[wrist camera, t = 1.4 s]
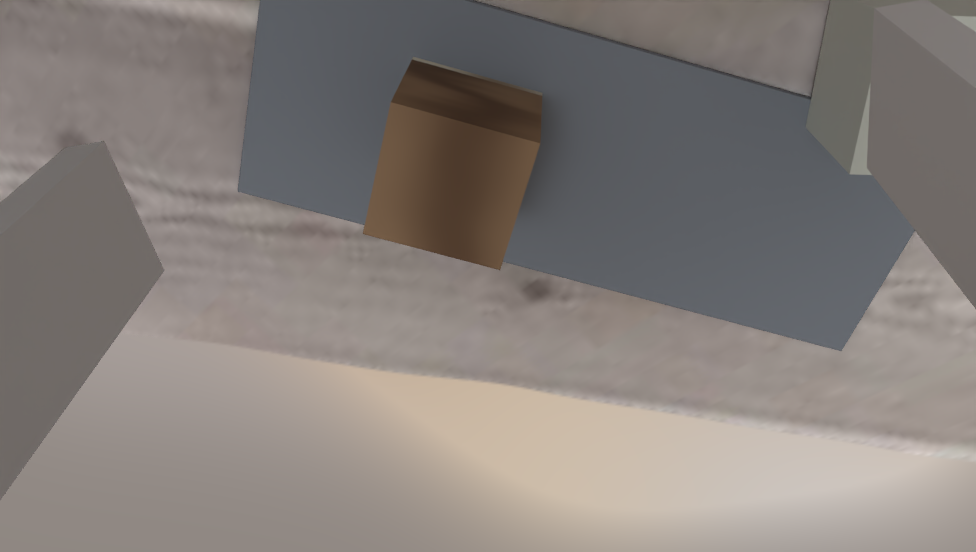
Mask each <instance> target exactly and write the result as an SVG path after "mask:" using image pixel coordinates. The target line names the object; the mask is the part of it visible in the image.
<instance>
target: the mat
mask: <svg viewBox="0 0 976 552" xmlns="http://www.w3.org/2000/svg"><path fill="white" fill-rule="evenodd" d="M413 57H416V58H420V59H424V60H427V61H431V62H434V63H438V64H441V65H445V66H448V67H452V68H456V69H459V70H463V71H466V72H470V73H473V74H477V75H480V76H484V77H488V78H491V79H495V80H498V81H502V82H505V83H509V84H512V85H516V86H520V87H523V88H527V89H530V90H534V91H537V92H541V93H542V116H541V141H540V146H539V149H538V153H537V156H536V159H535V162H534V165H533V168H532V171H531V174H530V178H529V181H528V184H527V187H526V190H525V193H524V196H523V199H522V203H521V206H520V209H519V212H518V215H517V218H516V221H515V225H514V228H513V231H512V234H511V237H510V240H509V243H508V246H507V250H506V253H505V256H504V259H503V262H506V263H510V264H514V265H518V266H521V267H525V268H529V269H533V270H537V271H540V272H544V273H548V274H552V275H555V276H559V277H563V278H567V279H571V280H574V281H578V282H582V283H586V284H589V285H593V286H597V287H601V288H605V289H608V290H612V291H616V292H620V293H623V294H627V295H631V296H635V297H639V298H642V299H646V300H650V301H654V302H658V303H661V304H665V305H669V306H673V307H676V308H680V309H684V310H688V311H692V312H695V313H699V314H703V315H707V316H710V317H714V318H718V319H722V320H726V321H729V322H733V323H737V324H741V325H744V326H748V327H752V328H756V329H760V330H763V331H767V332H771V333H775V334H778V335H782V336H786V337H790V338H794V339H797V340H801V341H805V342H809V343H813V344H816V345H820V346H824V347H828V348H831V349H835V350H839V351H842V349H843V347H844V346H845V344H846V342H847V341H848V339H849V338H850V336H851V334H852V333H853V331H854V329H855V328H856V326H857V324H858V323H859V321H860V320H861V318H862V316H863V315H864V313H865V311H866V310H867V308H868V306H869V305H870V303H871V301H872V300H873V298H874V297H875V295H876V293H877V292H878V290H879V288H880V287H881V285H882V283H883V282H884V280H885V279H886V277H887V275H888V274H889V272H890V270H891V269H892V267H893V265H894V264H895V262H896V260H897V259H898V257H899V256H900V254H901V252H902V251H903V249H904V247H905V246H906V244H907V242H908V241H909V239H910V238H911V236H912V234H913V233H914V231H915V230H914V228H913V227H912V226H911V224H910V223H909V222H908V221H907V219H906V218H905V217H904V215H903V214H902V213H901V212H900V210H899V209H898V208H897V206H896V205H895V204H894V202H893V201H892V200H891V199H890V197H889V196H888V195H887V193H886V192H885V191H884V190H883V188H882V187H881V186H880V184H879V183H878V182H877V180H876V179H875V178H874V177H873V175H855V174H849V173H848V172H847V171H846V170H845V169H844V168H843V167H842V166H841V165H840V164H839V163H838V161H837V160H836V159H835V158H834V157H833V156H832V155H831V154H830V153H829V152H828V151H827V150H826V149H825V148H824V147H823V146H822V144H821V143H820V142H819V141H818V140H817V139H816V138H815V137H814V136H813V135H812V134H811V133H810V132H809V131H808V130H807V128H806V123H807V117H808V112H809V107H810V102H811V97H807V96H804V95H800V94H797V93H793V92H790V91H786V90H783V89H779V88H776V87H772V86H769V85H765V84H762V83H759V82H755V81H752V80H748V79H745V78H741V77H738V76H734V75H731V74H727V73H724V72H720V71H717V70H713V69H710V68H706V67H703V66H700V65H696V64H693V63H689V62H686V61H682V60H679V59H675V58H672V57H668V56H665V55H661V54H658V53H654V52H651V51H647V50H644V49H640V48H637V47H634V46H630V45H627V44H623V43H620V42H616V41H613V40H609V39H606V38H602V37H599V36H595V35H592V34H588V33H585V32H581V31H578V30H575V29H571V28H568V27H564V26H561V25H557V24H554V23H550V22H547V21H543V20H540V19H536V18H533V17H529V16H526V15H522V14H519V13H516V12H512V11H509V10H505V9H502V8H498V7H495V6H491V5H488V4H484V3H481V2H477V1H474V0H260V5H259V14H258V22H257V31H256V40H255V48H254V57H253V65H252V74H251V82H250V91H249V99H248V108H247V116H246V125H245V133H244V142H243V150H242V159H241V167H240V176H239V184H238V192H242V193H245V194H249V195H253V196H257V197H261V198H264V199H268V200H272V201H276V202H279V203H283V204H287V205H291V206H295V207H298V208H302V209H306V210H310V211H314V212H317V213H321V214H325V215H329V216H332V217H336V218H340V219H344V220H348V221H351V222H355V223H359V224H363V225H365V221H366V216H367V212H368V207H369V202H370V198H371V193H372V188H373V183H374V179H375V174H376V169H377V164H378V160H379V155H380V150H381V146H382V141H383V136H384V131H385V127H386V122H387V117H388V112H389V108H390V103H391V100H392V98H393V96H394V94H395V92H396V90H397V88H398V86H399V84H400V82H401V80H402V78H403V76H404V74H405V72H406V70H407V68H408V66H409V64H410V62H411V60H412V58H413Z"/></svg>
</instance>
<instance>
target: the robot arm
mask: <svg viewBox="0 0 976 552" xmlns="http://www.w3.org/2000/svg"><path fill="white" fill-rule="evenodd" d="M867 169H868V170H869V171H870V173H871V174H872V175H873V177H874V178H875V179H876V180H877V182H878V183H879V184H880V186H881V187H882V188H883V190H884V191H885V192H886V193H887V195H888V196H889V197H890V199H891V200H892V201H893V202H894V204H895V205H896V206H897V208H898V209H899V210H900V212H901V213H902V214H903V215H904V217H905V218H906V219H907V221H908V222H909V223H910V224H911V226H912V227H913V228H914V230H915V231H916V232H917V234H918V235H919V236H920V237H921V239H922V240H923V241H924V243H925V244H926V245H927V246H928V248H929V249H930V250H931V252H932V253H933V254H934V256H935V257H936V258H937V259H938V261H939V262H940V263H941V265H942V266H943V267H944V268H945V270H946V271H947V272H948V274H949V275H950V276H951V278H952V279H953V280H954V281H955V283H956V284H957V285H958V287H959V288H960V289H961V291H962V292H963V293H964V294H965V296H966V297H967V298H968V300H969V301H970V302H971V303H972V305H973V306H974V307H975V309H976V32H975V31H974V30H972V29H970V28H969V27H967V26H966V25H964V24H963V23H961V22H960V21H958V20H957V19H955V18H954V17H952V16H951V15H949V14H948V13H946V12H945V11H943V10H942V9H940V8H939V7H937V6H936V5H934V4H933V3H931V2H930V1H928V0H918V1H913V2H907V3H901V4H895V5H889V6H884V7H878V8H874V21H873V42H872V64H871V85H870V107H869V128H868V150H867ZM163 272H164V269H163V267H162V264H161V262H160V260H159V258H158V256H157V254H156V252H155V249H154V247H153V245H152V243H151V241H150V239H149V237H148V234H147V232H146V230H145V228H144V226H143V224H142V222H141V219H140V217H139V215H138V213H137V211H136V209H135V206H134V204H133V202H132V200H131V198H130V196H129V194H128V191H127V189H126V187H125V185H124V183H123V181H122V179H121V176H120V174H119V172H118V170H117V168H116V166H115V164H114V161H113V159H112V157H111V155H110V153H109V151H108V148H107V146H106V144H105V142H104V141H101V142H95V143H90V144H84V145H78V146H72V147H67V148H64V149H63V150H62V151H61V152H60V153H58V154H57V155H56V156H55V157H54V158H52V159H51V160H50V161H49V162H48V163H47V164H45V165H44V166H43V167H42V168H41V169H39V170H38V171H37V172H36V173H35V174H34V175H32V176H31V177H30V178H29V179H28V180H27V181H25V182H24V183H23V184H22V185H21V186H19V187H18V188H17V189H16V190H15V191H14V192H12V193H11V194H10V195H9V196H8V197H7V198H5V199H4V200H3V201H2V202H1V203H0V500H1V498H2V497H3V496H4V494H5V493H6V491H7V490H8V489H9V487H10V486H11V484H12V483H13V482H14V480H15V479H16V478H17V476H18V475H19V473H20V472H21V470H22V469H23V468H24V466H25V465H26V463H27V462H28V461H29V459H30V458H31V456H32V455H33V454H34V452H35V451H36V449H37V448H38V447H39V445H40V444H41V442H42V441H43V440H44V438H45V437H46V435H47V434H48V433H49V431H50V430H51V428H52V427H53V426H54V424H55V423H56V421H57V420H58V419H59V417H60V416H61V414H62V413H63V412H64V410H65V409H66V407H67V406H68V405H69V403H70V402H71V400H72V399H73V398H74V396H75V395H76V393H77V392H78V391H79V389H80V388H81V386H82V385H83V384H84V382H85V381H86V379H87V378H88V377H89V375H90V374H91V372H92V371H93V370H94V368H95V367H96V365H97V364H98V363H99V361H100V360H101V358H102V357H103V356H104V354H105V353H106V351H107V350H108V349H109V347H110V346H111V344H112V343H113V342H114V340H115V339H116V337H117V336H118V335H119V333H120V332H121V330H122V329H123V328H124V326H125V325H126V323H127V322H128V321H129V319H130V318H131V316H132V315H133V314H134V312H135V311H136V309H137V308H138V307H139V305H140V304H141V302H142V301H143V300H144V298H145V297H146V295H147V294H148V293H149V291H150V290H151V288H152V287H153V286H154V284H155V283H156V281H157V280H158V279H159V277H160V276H161V274H162V273H163Z"/></svg>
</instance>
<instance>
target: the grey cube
mask: <svg viewBox="0 0 976 552" xmlns="http://www.w3.org/2000/svg"><path fill="white" fill-rule="evenodd" d="M913 1H918V0H830V5H829V10H828V15H827V20H826V25H825V30H824V36H823V41H822V46H821V51H820V56H819V61H818V66H817V71H816V76H815V82H814V87H813V92H812V97H811V102H810V107H809V112H808V117H807V123H806V128H807V130H808V131H809V132H810V133H811V134H812V135H813V136H814V137H815V138H816V139H817V140H818V141H819V142H820V143H821V144H822V146H823V147H824V148H825V149H826V150H827V151H828V152H829V153H830V154H831V155H832V156H833V157H834V158H835V159H836V160H837V161H838V163H839V164H840V165H841V166H842V167H843V168H844V169H845V170H846V171H847V172H848V173H849V174H855V175H872V174H871V173H870V171H869V170H868V169H867V150H868V128H869V107H870V85H871V64H872V42H873V21H874V8H878V7H884V6H889V5H895V4H901V3H907V2H913ZM928 1H930V2H931V3H933V4H934V5H936V6H937V7H939V8H940V9H942V10H943V11H945V12H946V13H948V14H949V15H951V16H952V17H954V18H955V19H957V20H958V21H960V22H961V23H963V24H964V25H966V26H967V27H969V28H970V29H972V30H974V31H975V32H976V0H928Z"/></svg>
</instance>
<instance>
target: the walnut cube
mask: <svg viewBox="0 0 976 552" xmlns="http://www.w3.org/2000/svg"><path fill="white" fill-rule="evenodd" d="M541 116H542V93H541V92H537V91H534V90H530V89H527V88H523V87H520V86H516V85H512V84H509V83H505V82H502V81H498V80H495V79H491V78H488V77H484V76H480V75H477V74H473V73H470V72H466V71H463V70H459V69H456V68H452V67H448V66H445V65H441V64H438V63H434V62H431V61H427V60H424V59H420V58H416V57H413V58H412V60H411V62H410V64H409V66H408V68H407V70H406V72H405V74H404V76H403V78H402V80H401V82H400V84H399V86H398V88H397V90H396V92H395V94H394V96H393V98H392V100H391V103H390V108H389V112H388V117H387V122H386V127H385V131H384V136H383V141H382V146H381V150H380V155H379V160H378V164H377V169H376V174H375V179H374V183H373V188H372V193H371V198H370V202H369V207H368V212H367V216H366V221H365V226H364V231H363V234H365V235H369V236H373V237H377V238H380V239H384V240H388V241H392V242H396V243H399V244H403V245H407V246H411V247H415V248H418V249H422V250H426V251H430V252H434V253H437V254H441V255H445V256H449V257H453V258H456V259H460V260H464V261H468V262H472V263H475V264H479V265H483V266H487V267H490V268H494V269H498V270H500V268H501V265H502V262H503V259H504V256H505V253H506V250H507V246H508V243H509V240H510V237H511V234H512V231H513V228H514V225H515V221H516V218H517V215H518V212H519V209H520V206H521V203H522V199H523V196H524V193H525V190H526V187H527V184H528V181H529V178H530V174H531V171H532V168H533V165H534V162H535V159H536V156H537V153H538V149H539V146H540V141H541Z"/></svg>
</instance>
